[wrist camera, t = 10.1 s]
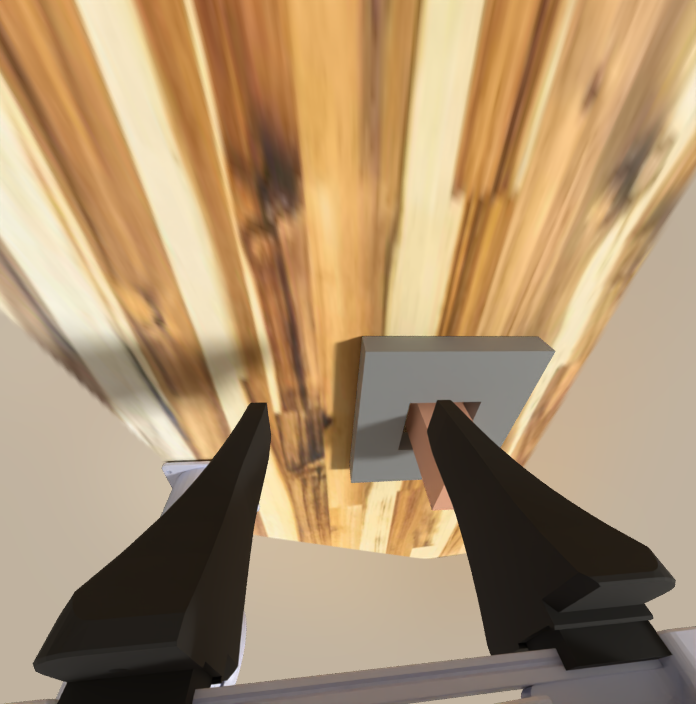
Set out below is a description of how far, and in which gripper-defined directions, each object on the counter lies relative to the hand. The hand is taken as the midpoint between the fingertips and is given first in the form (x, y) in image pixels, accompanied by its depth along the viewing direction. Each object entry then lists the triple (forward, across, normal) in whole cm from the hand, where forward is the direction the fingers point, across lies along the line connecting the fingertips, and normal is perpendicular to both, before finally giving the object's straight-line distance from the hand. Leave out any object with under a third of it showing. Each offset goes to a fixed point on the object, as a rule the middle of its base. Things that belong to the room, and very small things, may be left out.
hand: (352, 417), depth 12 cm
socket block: (+9, -9, +10) cm, 16 cm away
